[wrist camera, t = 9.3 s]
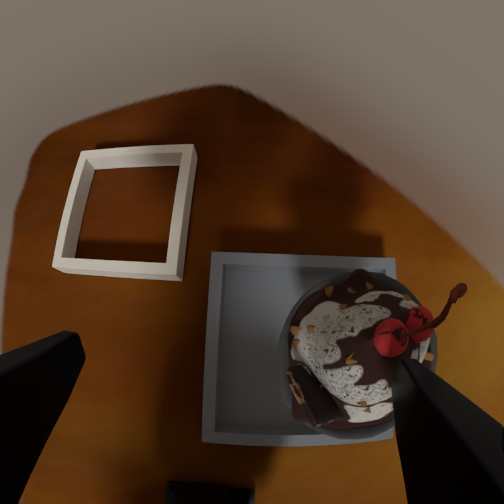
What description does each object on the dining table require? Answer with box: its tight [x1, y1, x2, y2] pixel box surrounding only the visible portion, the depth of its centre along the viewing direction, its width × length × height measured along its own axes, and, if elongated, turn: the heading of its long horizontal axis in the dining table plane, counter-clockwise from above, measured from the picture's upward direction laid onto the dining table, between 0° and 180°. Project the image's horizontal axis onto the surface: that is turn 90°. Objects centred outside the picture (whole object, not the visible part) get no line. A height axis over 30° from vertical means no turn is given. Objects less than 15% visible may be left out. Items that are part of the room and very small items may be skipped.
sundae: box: [277, 268, 467, 440], centre depth 14 cm, size 7×7×15 cm
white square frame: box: [52, 144, 198, 281], centre depth 24 cm, size 11×11×2 cm
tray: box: [202, 252, 396, 446], centre depth 20 cm, size 13×13×2 cm
